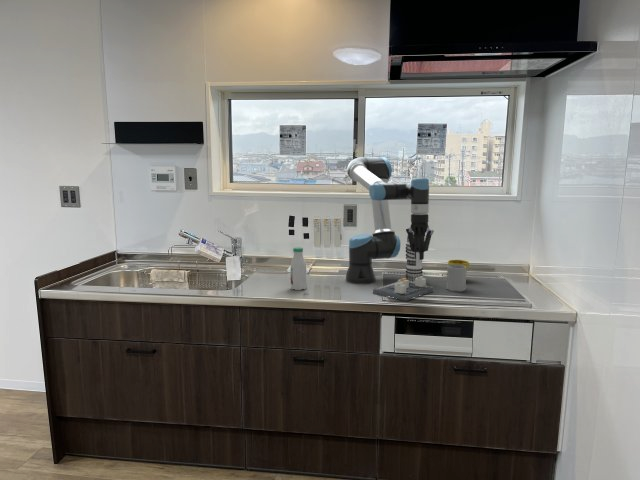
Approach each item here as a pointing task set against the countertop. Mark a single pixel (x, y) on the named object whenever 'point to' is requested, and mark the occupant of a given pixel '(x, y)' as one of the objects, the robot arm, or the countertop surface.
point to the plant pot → (459, 263)
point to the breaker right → (420, 281)
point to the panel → (410, 293)
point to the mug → (456, 278)
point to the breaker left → (400, 288)
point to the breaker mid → (406, 282)
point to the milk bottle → (298, 270)
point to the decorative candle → (411, 264)
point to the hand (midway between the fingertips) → (419, 266)
